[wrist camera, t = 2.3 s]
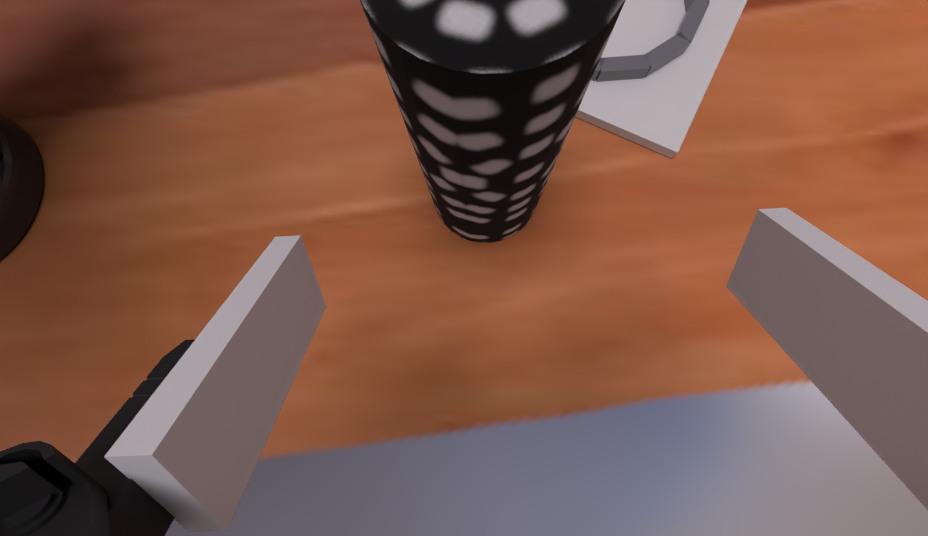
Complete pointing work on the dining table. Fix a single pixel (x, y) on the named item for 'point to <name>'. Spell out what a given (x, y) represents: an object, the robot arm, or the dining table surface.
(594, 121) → the ring dock
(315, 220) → the dining table surface
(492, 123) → the spotted tube
